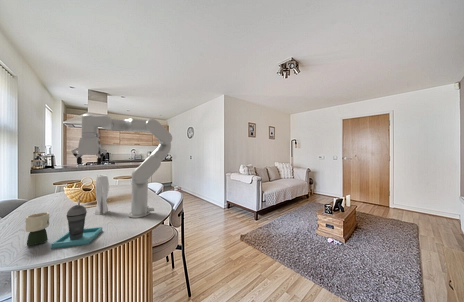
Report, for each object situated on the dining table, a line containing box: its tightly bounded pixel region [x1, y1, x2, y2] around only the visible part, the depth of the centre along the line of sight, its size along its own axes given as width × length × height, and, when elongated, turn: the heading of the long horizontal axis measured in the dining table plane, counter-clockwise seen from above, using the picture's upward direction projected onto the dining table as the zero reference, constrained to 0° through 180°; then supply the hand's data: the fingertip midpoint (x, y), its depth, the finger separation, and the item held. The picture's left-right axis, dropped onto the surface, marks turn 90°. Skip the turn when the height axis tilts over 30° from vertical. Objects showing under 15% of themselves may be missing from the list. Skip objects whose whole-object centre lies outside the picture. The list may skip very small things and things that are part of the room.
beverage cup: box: [66, 195, 88, 240], centre depth 82 cm, size 7×7×20 cm
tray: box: [50, 226, 103, 249], centre depth 82 cm, size 14×14×2 cm
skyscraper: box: [93, 172, 111, 216], centre depth 118 cm, size 8×8×28 cm
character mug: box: [25, 211, 50, 247], centre depth 78 cm, size 11×7×13 cm, turn 64°
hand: (89, 164), depth 102 cm, fingers open, 9 cm apart
